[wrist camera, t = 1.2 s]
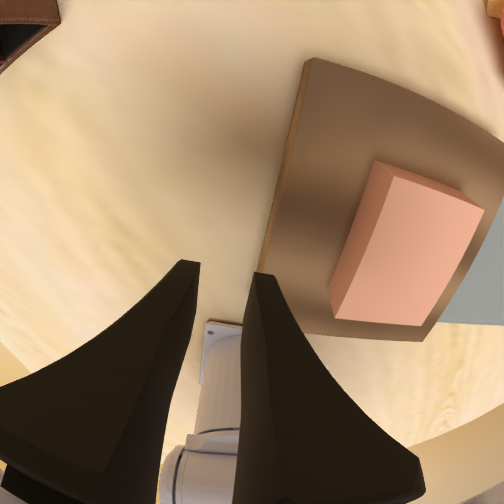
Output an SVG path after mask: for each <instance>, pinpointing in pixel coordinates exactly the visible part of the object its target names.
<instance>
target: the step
mask: <svg viewBox="0 0 504 504" xmlns="http://www.w3.org/2000/svg"><path fill="white" fill-rule="evenodd" d="M374 160H376V161H380V162H383V163H386V164H389V165H392V166H395V167H398V168H401V169H404V170H407V171H410V172H412V173H415V174H418V175H421V176H423V177H426V178H429V179H431V180H434V181H437V182H439V183H442V184H444V185H447V186H449V187H452V188H454V189H457V190H459V191H461V192H462V193H464V194H465V195H466V196H468V197H469V198H470V199H471V200H473V201H474V202H475V203H477V204H478V205H479V206H480V207H482V208H483V209H484V213H483V215H482V217H481V220H480V222H479V224H478V226H477V228H476V231H475V233H474V235H473V237H472V239H471V241H470V243H469V245H468V247H467V249H466V251H465V253H464V255H463V257H462V259H461V261H460V263H459V264H458V266H457V268H456V270H455V272H454V274H453V275H452V277H451V279H450V281H449V282H448V284H447V286H446V287H445V289H444V291H443V292H442V294H441V296H440V297H439V299H438V301H437V302H436V304H435V305H434V307H433V309H432V310H431V312H430V313H429V315H428V316H427V318H426V319H425V321H424V322H423V324H422V325H421V326H412V325H400V324H388V323H377V322H366V321H357V320H347V319H338V318H335V317H334V313H333V309H332V305H331V301H330V297H329V293H328V289H327V288H328V286H329V283H330V281H331V279H332V276H333V274H334V271H335V269H336V266H337V264H338V261H339V259H340V256H341V253H342V251H343V248H344V246H345V243H346V240H347V238H348V235H349V232H350V230H351V227H352V224H353V221H354V219H355V216H356V213H357V210H358V207H359V204H360V202H361V199H362V196H363V193H364V190H365V187H366V184H367V181H368V178H369V175H370V171H371V168H372V165H373V162H374ZM503 197H504V143H503V142H502V141H500V140H499V139H497V138H496V137H494V136H493V135H491V134H490V133H488V132H487V131H485V130H483V129H482V128H480V127H479V126H477V125H475V124H474V123H472V122H470V121H468V120H467V119H465V118H463V117H461V116H460V115H458V114H456V113H454V112H452V111H451V110H449V109H447V108H445V107H443V106H441V105H439V104H437V103H435V102H433V101H431V100H429V99H427V98H425V97H423V96H420V95H418V94H416V93H414V92H412V91H409V90H407V89H405V88H402V87H400V86H398V85H395V84H393V83H390V82H388V81H385V80H383V79H380V78H377V77H375V76H372V75H369V74H366V73H363V72H360V71H358V70H355V69H351V68H348V67H345V66H342V65H339V64H335V63H332V62H329V61H325V60H321V59H318V58H312V59H310V60H308V61H306V62H304V67H303V72H302V76H301V81H300V85H299V90H298V94H297V99H296V103H295V108H294V112H293V116H292V121H291V125H290V130H289V134H288V139H287V143H286V147H285V152H284V156H283V161H282V165H281V169H280V174H279V178H278V182H277V187H276V191H275V195H274V200H273V204H272V208H271V213H270V217H269V221H268V225H267V230H266V234H265V238H264V242H263V247H262V251H261V255H260V259H259V264H258V268H257V272H259V273H265V274H271V275H274V276H275V277H276V279H277V282H278V284H279V286H280V289H281V291H282V293H283V295H284V297H285V300H286V302H287V304H288V306H289V308H290V310H291V312H292V314H293V316H294V317H295V319H296V321H297V323H298V325H299V327H300V328H301V330H302V332H303V333H308V334H317V335H327V336H337V337H348V338H361V339H375V340H391V341H412V342H423V340H424V339H425V337H426V336H427V335H428V333H429V332H430V331H431V329H432V328H433V326H434V325H435V323H436V322H437V320H438V319H439V318H440V316H441V315H442V313H443V312H444V310H445V308H446V307H447V305H448V304H449V302H450V301H451V299H452V297H453V296H454V294H455V293H456V291H457V289H458V288H459V286H460V284H461V283H462V281H463V279H464V277H465V276H466V274H467V272H468V270H469V269H470V267H471V265H472V263H473V261H474V259H475V257H476V256H477V254H478V252H479V250H480V248H481V246H482V244H483V242H484V240H485V238H486V236H487V234H488V231H489V229H490V227H491V225H492V223H493V220H494V218H495V216H496V214H497V211H498V209H499V207H500V204H501V202H502V199H503Z"/></svg>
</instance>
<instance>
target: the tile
mask: <svg viewBox="0 0 504 504" xmlns="http://www.w3.org/2000/svg"><path fill="white" fill-rule="evenodd" d="M483 213H484V209H483V208H482V207H480V206H479V205H478V204H477V203H475V202H474V201H473V200H471V199H470V198H469V197H468V196H466V195H465V194H464V193H462V192H461V191H459V190H457V189H454V188H452V187H449V186H447V185H444V184H442V183H439V182H437V181H434V180H431V179H429V178H426V177H423V176H421V175H418V174H415V173H412V172H410V171H407V170H404V169H401V168H398V167H395V166H392V165H389V164H386V163H383V162H380V161H376V160H374V162H373V165H372V168H371V171H370V175H369V178H368V181H367V184H366V187H365V190H364V193H363V196H362V199H361V202H360V204H359V207H358V210H357V213H356V216H355V219H354V221H353V224H352V227H351V230H350V232H349V235H348V238H347V240H346V243H345V246H344V248H343V251H342V253H341V256H340V259H339V261H338V264H337V266H336V269H335V271H334V274H333V276H332V279H331V281H330V283H329V286H328V288H327V289H328V293H329V297H330V301H331V305H332V309H333V313H334V317H335V318H338V319H347V320H357V321H366V322H377V323H388V324H400V325H412V326H421V325H422V324H423V322H424V321H425V319H426V318H427V316H428V315H429V313H430V312H431V310H432V309H433V307H434V305H435V304H436V302H437V301H438V299H439V297H440V296H441V294H442V292H443V291H444V289H445V287H446V286H447V284H448V282H449V281H450V279H451V277H452V275H453V274H454V272H455V270H456V268H457V266H458V264H459V263H460V261H461V259H462V257H463V255H464V253H465V251H466V249H467V247H468V245H469V243H470V241H471V239H472V237H473V235H474V233H475V231H476V228H477V226H478V224H479V222H480V220H481V217H482V215H483Z"/></svg>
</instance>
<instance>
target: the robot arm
mask: <svg viewBox="0 0 504 504" xmlns="http://www.w3.org/2000/svg"><path fill="white" fill-rule="evenodd" d="M200 264H201V263H200V262H194V261H188V260H183V259H181V260H179V261H178V262H177V263H176V264H175V265H174V266H173V268H172V269H171V270H170V271H169V272H168V273H167V274H166V275H165V276H164V277H163V278H162V279H161V280H160V281H159V282H158V284H157V285H156V286H154V287H153V288H152V289H151V290H150V291H149V292H148V293H147V294H146V295H145V296H144V297H143V298H142V299H141V300H140V301H139V302H138V303H137V304H135V305H134V306H133V307H132V308H131V309H130V310H129V311H127V312H126V313H125V314H124V315H123V316H122V317H120V318H119V319H118V320H117V321H115V322H114V323H113V324H112V325H110V326H109V327H108V328H107V329H105V330H104V331H102V332H101V333H100V334H98V335H97V336H96V337H94V338H93V339H91V340H90V341H88V342H87V343H85V344H84V345H82V346H81V347H79V348H78V349H76V350H75V351H73V352H71V353H70V354H68V355H66V356H65V357H63V358H61V359H59V360H57V361H55V362H54V363H52V364H50V365H48V366H46V367H44V368H42V369H40V370H39V371H37V372H34V373H32V374H30V375H28V376H26V377H24V378H21V379H19V380H16V381H14V382H11V383H9V384H6V385H4V386H1V387H0V460H2V461H3V462H5V463H6V464H7V466H6V469H5V472H4V471H3V470H1V469H0V504H155V503H156V493H157V484H158V476H159V468H160V461H161V454H162V448H163V442H164V435H165V430H166V424H167V418H168V413H169V408H170V403H171V399H172V396H173V392H174V389H175V386H176V382H177V379H178V376H179V373H180V370H181V367H182V363H183V360H184V357H185V354H186V351H187V348H188V345H189V341H190V338H191V334H192V329H193V324H194V319H195V314H196V307H197V296H198V285H199V274H200ZM199 383H200V384H201V385H202V386H201V392H200V398H199V404H198V411H197V417H196V424H195V430H194V435H193V434H188V435H187V438H186V444H185V446H184V445H178V446H176V447H175V448H174V449H173V450H172V451H171V452H170V453H169V454H168V455H167V456H166V458H165V460H164V463H163V467H162V470H161V474H160V481H159V499H160V504H406V503H408V502H411V501H413V500H416V499H418V498H420V497H421V496H423V495H424V493H425V492H426V488H425V482H424V477H423V472H422V468H421V464H420V461H419V458H418V457H417V456H416V455H414V454H413V453H412V452H410V451H409V450H408V449H406V448H405V447H404V446H402V445H401V444H400V443H398V442H397V441H396V440H395V439H393V438H392V437H391V436H389V435H388V434H387V433H386V432H385V431H384V430H383V429H381V428H380V427H379V426H378V425H377V424H376V423H375V422H374V421H373V420H372V419H371V418H369V417H368V416H367V415H366V414H365V413H364V412H363V411H362V409H361V408H360V407H359V406H358V405H357V404H356V403H355V402H354V401H353V400H352V399H351V398H350V397H349V396H348V394H347V393H346V392H345V391H344V390H343V389H342V388H341V386H340V385H339V384H338V383H337V382H336V380H335V379H334V378H333V377H332V375H331V374H330V373H329V371H328V370H327V369H326V367H325V366H324V365H323V363H322V362H321V360H320V359H319V357H318V356H317V354H316V353H315V351H314V350H313V348H312V347H311V345H310V343H309V342H308V340H307V339H306V337H305V335H304V334H303V332H302V330H301V328H300V327H299V325H298V323H297V321H296V319H295V317H294V316H293V314H292V312H291V310H290V308H289V306H288V304H287V302H286V300H285V297H284V295H283V293H282V291H281V289H280V286H279V284H278V282H277V279H276V277H275V276H274V275H271V274H265V273H259V272H254V275H253V279H252V283H251V288H250V292H249V296H248V301H247V305H246V309H245V313H244V318H243V326H238V325H232V324H225V323H219V322H213V321H209V322H207V323H206V325H205V332H204V342H203V351H202V361H201V371H200V382H199ZM459 504H504V482H503V481H502V482H500V483H499V484H497V485H495V486H493V487H492V488H490V489H488V490H486V491H484V492H482V493H481V494H478V495H476V496H474V497H472V498H470V499H468V500H465V501H463V502H461V503H459Z"/></svg>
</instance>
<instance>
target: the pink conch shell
mask: <svg viewBox="0 0 504 504" xmlns="http://www.w3.org/2000/svg"><path fill="white" fill-rule="evenodd" d="M487 15H488V16H491V17H496V18H500V19H501V30H502V34H503V37H504V0H488V3H487Z"/></svg>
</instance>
